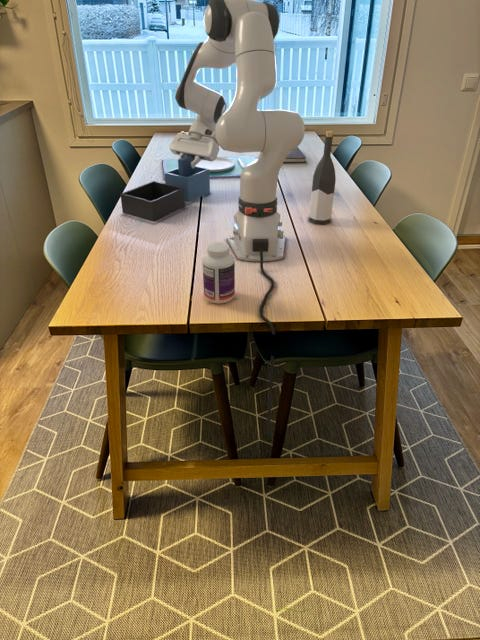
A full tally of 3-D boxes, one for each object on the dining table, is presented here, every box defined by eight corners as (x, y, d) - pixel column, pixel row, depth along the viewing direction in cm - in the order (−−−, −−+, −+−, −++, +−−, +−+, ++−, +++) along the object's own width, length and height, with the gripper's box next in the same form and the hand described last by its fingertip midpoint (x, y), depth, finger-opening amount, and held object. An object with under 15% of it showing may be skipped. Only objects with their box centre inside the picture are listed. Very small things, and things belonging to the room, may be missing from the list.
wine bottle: (334, 218, 168) (346, 130, 151) (325, 226, 162) (337, 135, 146) (313, 214, 172) (322, 127, 155) (304, 221, 166) (312, 132, 149)
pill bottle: (235, 290, 126) (236, 240, 118) (233, 306, 119) (233, 254, 111) (205, 288, 126) (204, 239, 118) (201, 304, 120) (199, 253, 111)
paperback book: (296, 150, 245) (297, 145, 244) (306, 162, 226) (306, 157, 225) (266, 150, 244) (266, 145, 243) (273, 163, 225) (273, 158, 224)
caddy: (188, 188, 193) (186, 151, 185) (210, 193, 188) (209, 155, 180) (166, 198, 183) (163, 159, 175) (188, 204, 179) (186, 164, 170)
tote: (155, 200, 181) (153, 180, 177) (185, 208, 175) (184, 187, 170) (123, 215, 169) (120, 193, 164) (154, 223, 162) (151, 202, 158)
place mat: (164, 180, 202) (164, 174, 201) (162, 160, 227) (162, 155, 226) (266, 176, 208) (267, 171, 207) (254, 157, 233) (254, 152, 232)
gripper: (175, 125, 182) (160, 157, 180) (218, 133, 173) (203, 166, 172) (182, 135, 188) (168, 166, 186) (225, 143, 179) (211, 175, 177)
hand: (185, 166), depth 179 cm, fingers open, 4 cm apart
